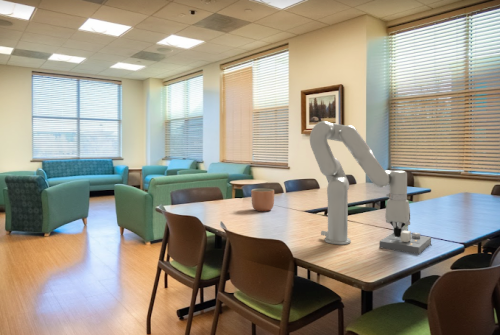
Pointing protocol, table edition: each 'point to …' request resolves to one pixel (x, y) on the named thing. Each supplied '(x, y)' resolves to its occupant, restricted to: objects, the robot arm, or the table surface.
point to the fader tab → (405, 236)
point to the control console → (406, 243)
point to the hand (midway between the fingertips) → (397, 236)
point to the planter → (262, 199)
